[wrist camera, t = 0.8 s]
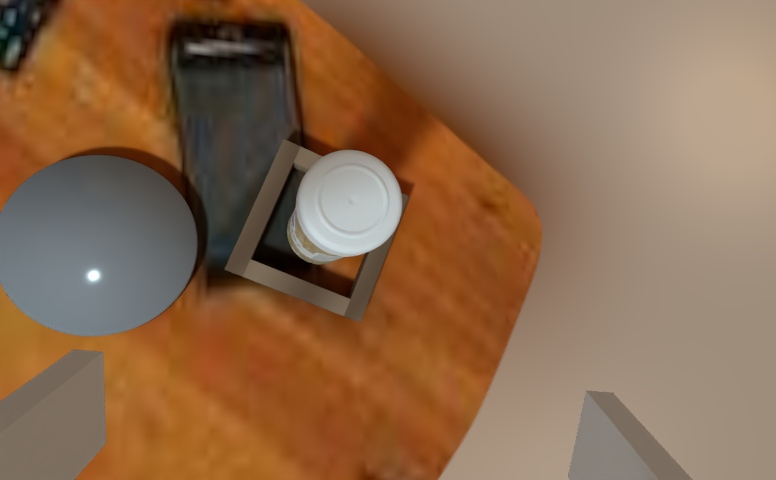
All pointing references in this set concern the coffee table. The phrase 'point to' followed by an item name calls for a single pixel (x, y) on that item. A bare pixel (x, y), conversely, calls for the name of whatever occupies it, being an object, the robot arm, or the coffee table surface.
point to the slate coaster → (96, 245)
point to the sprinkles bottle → (344, 207)
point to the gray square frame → (286, 283)
